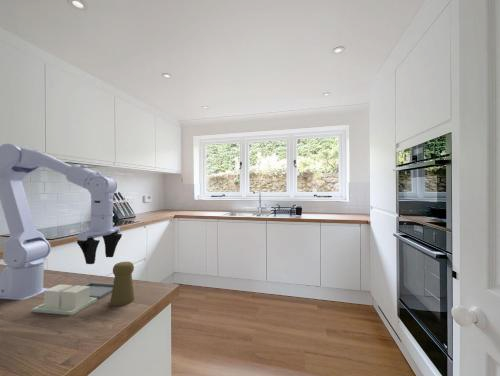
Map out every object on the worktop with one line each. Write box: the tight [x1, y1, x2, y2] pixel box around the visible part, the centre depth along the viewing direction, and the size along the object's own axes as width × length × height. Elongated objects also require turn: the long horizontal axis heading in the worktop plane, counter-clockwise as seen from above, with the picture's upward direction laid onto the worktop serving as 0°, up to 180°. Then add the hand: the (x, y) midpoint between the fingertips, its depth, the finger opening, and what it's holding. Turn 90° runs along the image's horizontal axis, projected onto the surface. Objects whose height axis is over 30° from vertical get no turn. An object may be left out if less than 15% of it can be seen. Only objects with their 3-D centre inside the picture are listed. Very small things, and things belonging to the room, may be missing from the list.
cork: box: [109, 261, 135, 307], centre depth 65 cm, size 6×6×11 cm
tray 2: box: [83, 281, 114, 300], centre depth 71 cm, size 11×9×1 cm
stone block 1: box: [43, 284, 74, 309], centre depth 62 cm, size 4×4×4 cm
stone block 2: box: [61, 285, 90, 310], centre depth 61 cm, size 4×4×4 cm
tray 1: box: [31, 297, 98, 316], centre depth 62 cm, size 11×8×1 cm
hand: (100, 260), depth 71 cm, fingers open, 7 cm apart
